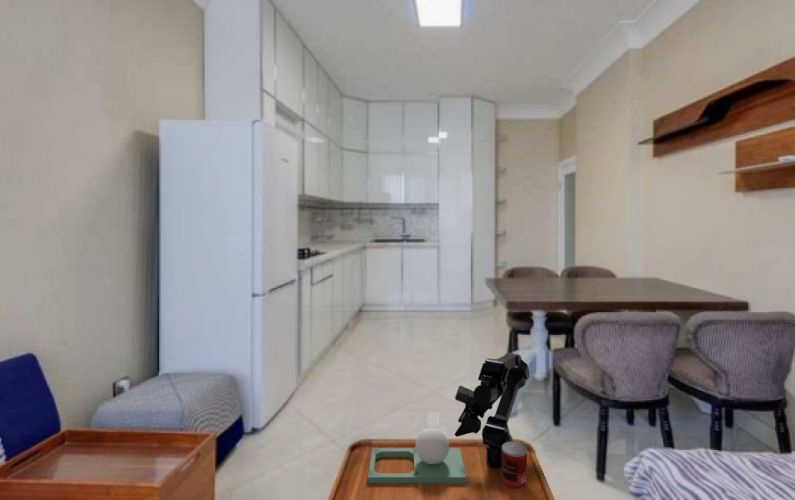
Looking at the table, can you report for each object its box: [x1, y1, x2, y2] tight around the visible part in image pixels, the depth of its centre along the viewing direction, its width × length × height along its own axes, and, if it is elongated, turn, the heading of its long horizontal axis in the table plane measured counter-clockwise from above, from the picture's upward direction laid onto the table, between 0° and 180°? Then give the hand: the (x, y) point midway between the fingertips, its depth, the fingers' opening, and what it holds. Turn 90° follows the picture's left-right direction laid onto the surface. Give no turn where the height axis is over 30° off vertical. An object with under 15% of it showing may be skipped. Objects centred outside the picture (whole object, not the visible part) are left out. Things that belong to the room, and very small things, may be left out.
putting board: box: [367, 447, 467, 484], centre depth 150 cm, size 31×17×2 cm, turn 89°
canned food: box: [500, 441, 528, 489], centre depth 142 cm, size 8×8×11 cm
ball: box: [415, 427, 450, 464], centre depth 149 cm, size 11×11×11 cm
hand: (457, 428), depth 151 cm, fingers open, 9 cm apart
